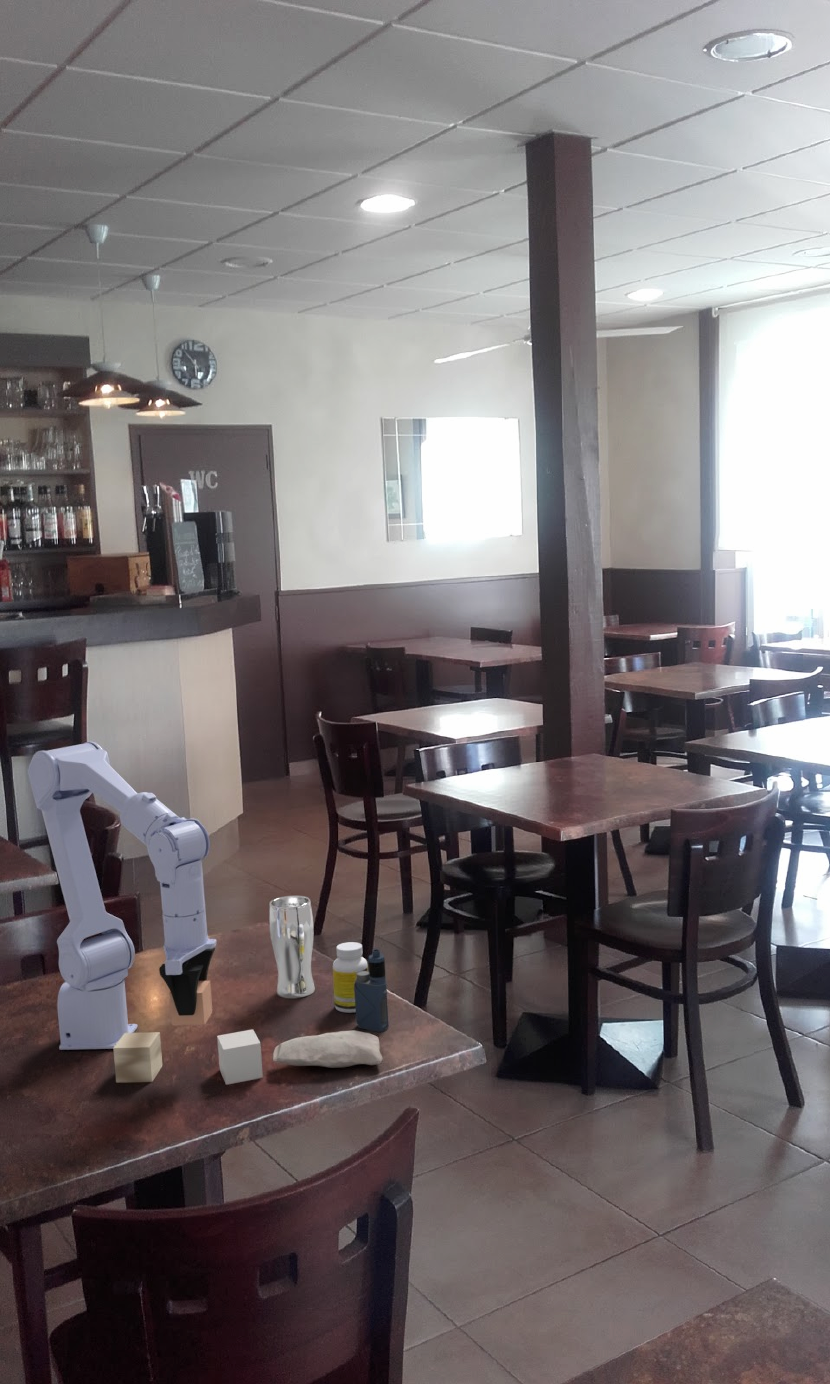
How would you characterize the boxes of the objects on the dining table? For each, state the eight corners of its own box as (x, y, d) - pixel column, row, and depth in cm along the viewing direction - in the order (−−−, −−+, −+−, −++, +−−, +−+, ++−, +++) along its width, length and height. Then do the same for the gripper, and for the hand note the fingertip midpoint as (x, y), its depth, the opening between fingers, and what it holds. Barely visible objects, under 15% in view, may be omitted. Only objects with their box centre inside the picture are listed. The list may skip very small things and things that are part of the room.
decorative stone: (384, 1043, 160) (273, 1056, 158) (386, 1073, 161) (275, 1086, 158) (375, 1014, 169) (269, 1026, 167) (376, 1042, 170) (271, 1055, 168)
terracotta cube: (171, 1025, 160) (169, 993, 159) (180, 1012, 164) (178, 981, 164) (204, 1025, 160) (202, 993, 159) (212, 1011, 164) (210, 980, 164)
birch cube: (116, 1083, 161) (113, 1048, 161) (127, 1067, 166) (124, 1033, 166) (152, 1082, 161) (149, 1047, 160) (162, 1066, 166) (159, 1032, 165)
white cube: (226, 1085, 159) (223, 1049, 158) (219, 1070, 164) (217, 1035, 163) (262, 1078, 160) (260, 1043, 160) (255, 1063, 165) (253, 1029, 165)
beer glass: (326, 987, 192) (320, 898, 190) (299, 1002, 186) (293, 910, 184) (292, 981, 196) (286, 893, 194) (265, 995, 190) (259, 905, 188)
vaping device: (382, 1033, 173) (378, 954, 171) (353, 1027, 176) (348, 949, 174) (392, 1027, 175) (388, 948, 173) (363, 1021, 178) (358, 944, 176)
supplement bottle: (365, 1014, 180) (361, 952, 179) (330, 1013, 181) (326, 951, 180) (373, 1001, 186) (370, 940, 184) (340, 1000, 187) (336, 940, 185)
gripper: (199, 927, 153) (207, 1028, 154) (225, 894, 167) (231, 986, 169) (146, 928, 153) (154, 1029, 155) (175, 895, 168) (183, 987, 169)
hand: (191, 1007), depth 162 cm, fingers closed on terracotta cube, 4 cm apart
